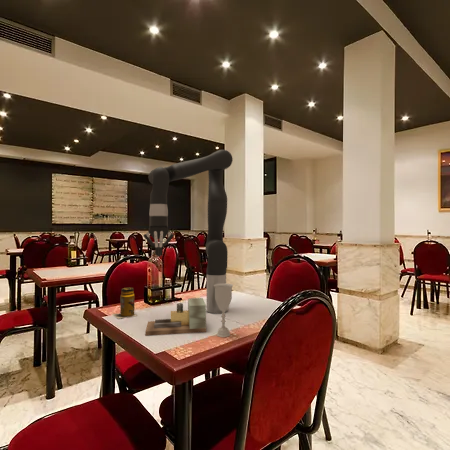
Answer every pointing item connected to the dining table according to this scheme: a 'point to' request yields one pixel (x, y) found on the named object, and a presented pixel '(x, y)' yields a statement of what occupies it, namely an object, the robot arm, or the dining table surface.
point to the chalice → (223, 304)
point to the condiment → (126, 303)
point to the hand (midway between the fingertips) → (158, 256)
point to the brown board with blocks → (166, 327)
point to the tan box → (180, 315)
